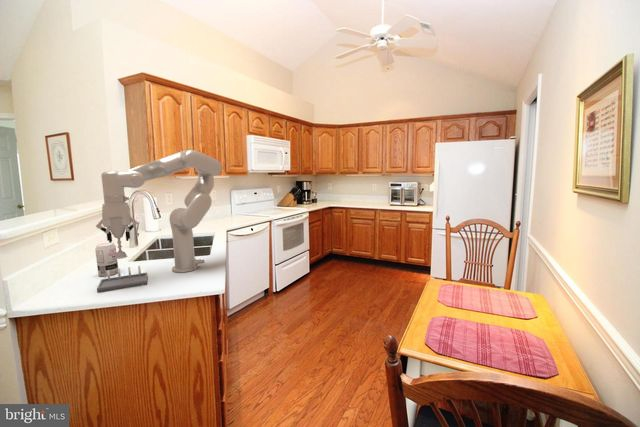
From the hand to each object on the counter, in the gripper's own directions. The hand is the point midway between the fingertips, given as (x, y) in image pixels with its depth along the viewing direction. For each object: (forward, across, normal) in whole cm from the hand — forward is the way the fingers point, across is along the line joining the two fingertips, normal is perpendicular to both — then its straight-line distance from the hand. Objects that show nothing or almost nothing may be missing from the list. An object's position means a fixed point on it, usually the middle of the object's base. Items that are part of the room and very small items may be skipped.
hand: (119, 240), depth 131 cm
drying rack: (+20, 0, 0) cm, 20 cm away
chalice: (+8, 0, 0) cm, 8 cm away
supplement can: (+20, +8, -20) cm, 30 cm away
